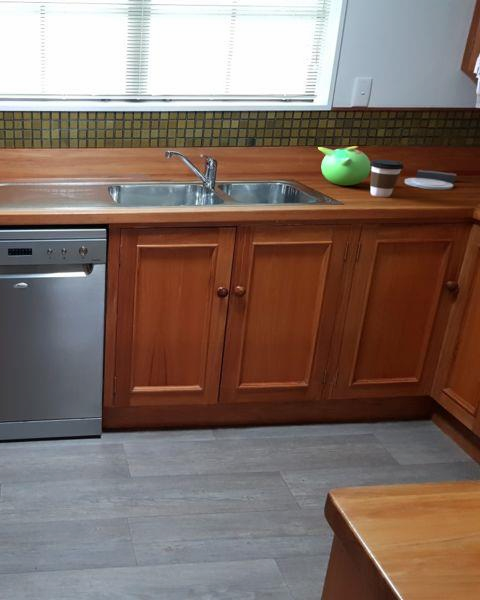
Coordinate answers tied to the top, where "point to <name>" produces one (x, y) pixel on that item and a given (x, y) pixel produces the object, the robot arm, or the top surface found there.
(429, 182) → the plate
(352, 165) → the toy bird
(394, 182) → the coffee cup
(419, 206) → the top surface
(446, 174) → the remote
